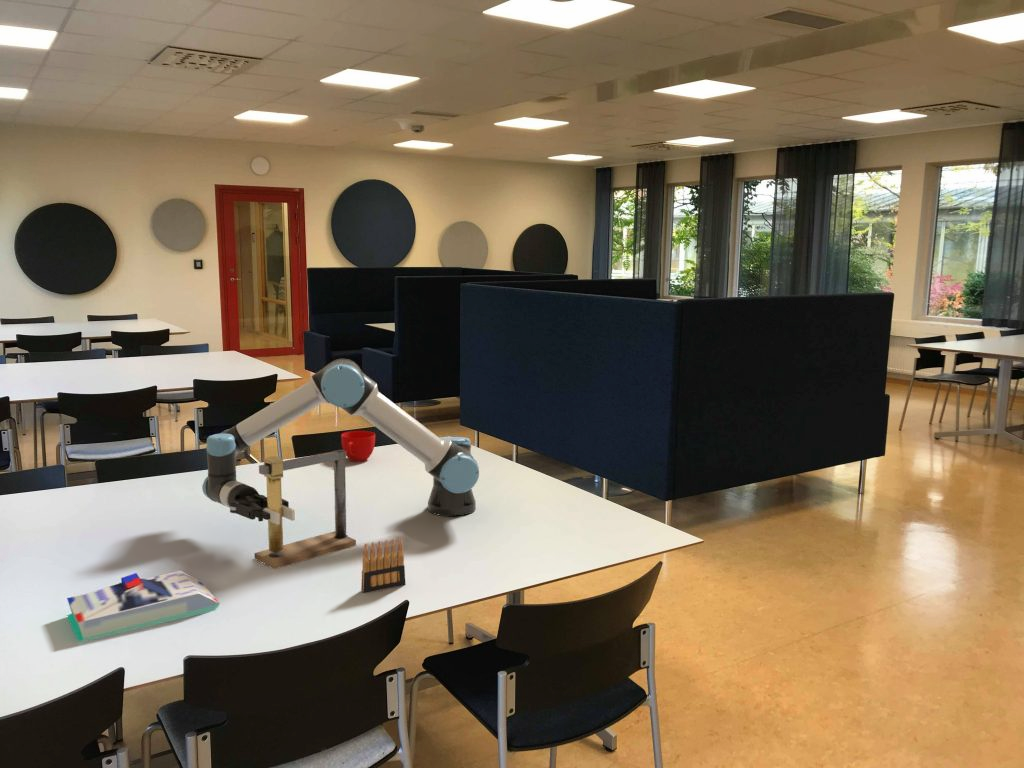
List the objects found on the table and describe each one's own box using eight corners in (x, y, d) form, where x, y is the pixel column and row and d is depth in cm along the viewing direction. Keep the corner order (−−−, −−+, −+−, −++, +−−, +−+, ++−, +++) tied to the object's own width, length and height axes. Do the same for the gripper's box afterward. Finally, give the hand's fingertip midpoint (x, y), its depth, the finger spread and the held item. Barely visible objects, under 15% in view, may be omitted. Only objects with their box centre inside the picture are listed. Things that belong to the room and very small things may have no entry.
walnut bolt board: (336, 535, 233) (336, 530, 233) (357, 544, 226) (357, 539, 226) (254, 558, 215) (254, 552, 215) (274, 569, 208) (273, 563, 208)
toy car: (60, 617, 181) (57, 580, 179) (200, 586, 198) (198, 552, 197) (73, 648, 167) (70, 607, 166) (221, 612, 185) (220, 575, 184)
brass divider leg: (278, 548, 217) (275, 456, 213) (286, 553, 214) (283, 459, 210) (265, 552, 214) (262, 458, 210) (274, 556, 211) (271, 461, 207)
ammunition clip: (363, 593, 195) (363, 545, 193) (361, 590, 196) (360, 542, 194) (405, 584, 200) (405, 538, 198) (402, 582, 202) (402, 535, 200)
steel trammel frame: (342, 534, 230) (340, 449, 226) (348, 536, 228) (347, 451, 224) (261, 556, 213) (257, 465, 209) (266, 559, 211) (263, 467, 207)
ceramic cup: (332, 465, 308) (332, 439, 307) (348, 454, 325) (348, 430, 323) (365, 467, 306) (365, 441, 304) (380, 456, 323) (379, 431, 321)
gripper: (267, 504, 231) (314, 523, 215) (211, 517, 219) (256, 539, 203) (266, 478, 230) (313, 496, 214) (210, 490, 218) (255, 510, 202)
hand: (285, 517), depth 209 cm, fingers closed on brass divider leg, 4 cm apart
